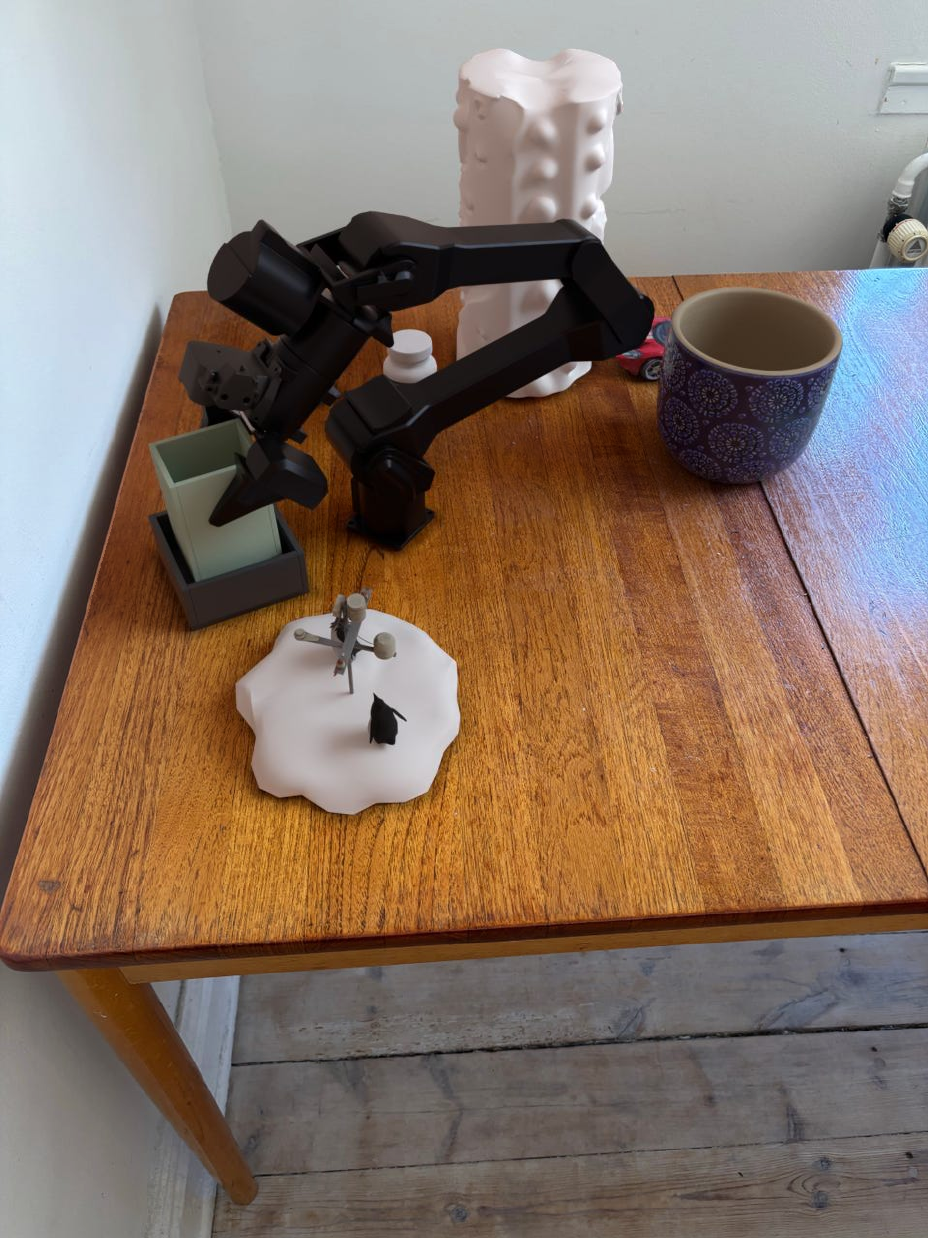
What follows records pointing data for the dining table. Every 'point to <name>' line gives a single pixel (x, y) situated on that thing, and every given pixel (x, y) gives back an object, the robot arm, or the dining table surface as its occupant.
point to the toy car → (647, 352)
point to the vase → (531, 173)
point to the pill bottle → (409, 358)
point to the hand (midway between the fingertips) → (200, 500)
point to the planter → (744, 381)
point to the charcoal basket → (232, 577)
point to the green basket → (211, 500)
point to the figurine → (350, 709)
